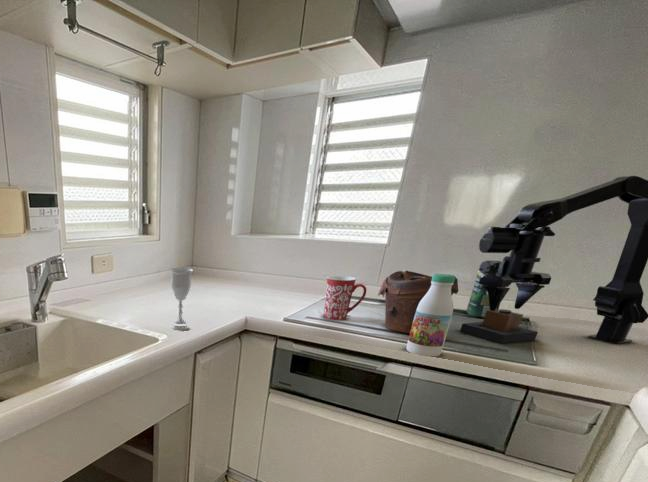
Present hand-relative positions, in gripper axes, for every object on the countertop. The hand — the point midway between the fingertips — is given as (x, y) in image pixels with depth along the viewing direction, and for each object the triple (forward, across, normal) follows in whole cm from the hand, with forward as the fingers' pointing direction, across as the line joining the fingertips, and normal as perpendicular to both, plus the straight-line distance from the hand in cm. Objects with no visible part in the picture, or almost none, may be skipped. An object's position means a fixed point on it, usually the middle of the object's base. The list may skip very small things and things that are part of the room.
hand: (504, 309), depth 115 cm
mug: (+8, +30, -30) cm, 43 cm away
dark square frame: (+8, 0, 0) cm, 8 cm away
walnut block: (+8, 0, 0) cm, 8 cm away
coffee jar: (+8, -19, -19) cm, 28 cm away
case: (+8, +19, -12) cm, 24 cm away
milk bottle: (+8, +33, +6) cm, 35 cm away
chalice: (+8, +87, -32) cm, 94 cm away
